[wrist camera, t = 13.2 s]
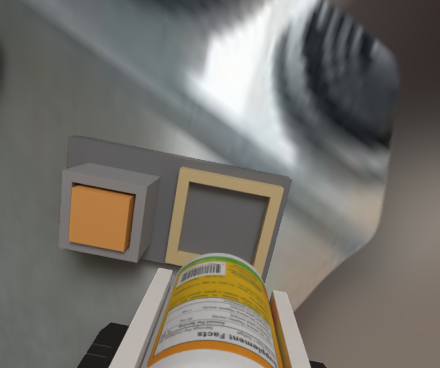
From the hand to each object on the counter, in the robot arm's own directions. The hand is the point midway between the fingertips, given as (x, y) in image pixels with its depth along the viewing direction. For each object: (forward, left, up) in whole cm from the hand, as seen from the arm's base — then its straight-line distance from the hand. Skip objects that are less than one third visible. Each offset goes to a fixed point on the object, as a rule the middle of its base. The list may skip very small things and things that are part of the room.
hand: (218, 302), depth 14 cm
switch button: (-9, +4, -11) cm, 15 cm away
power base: (-5, +2, -13) cm, 14 cm away
